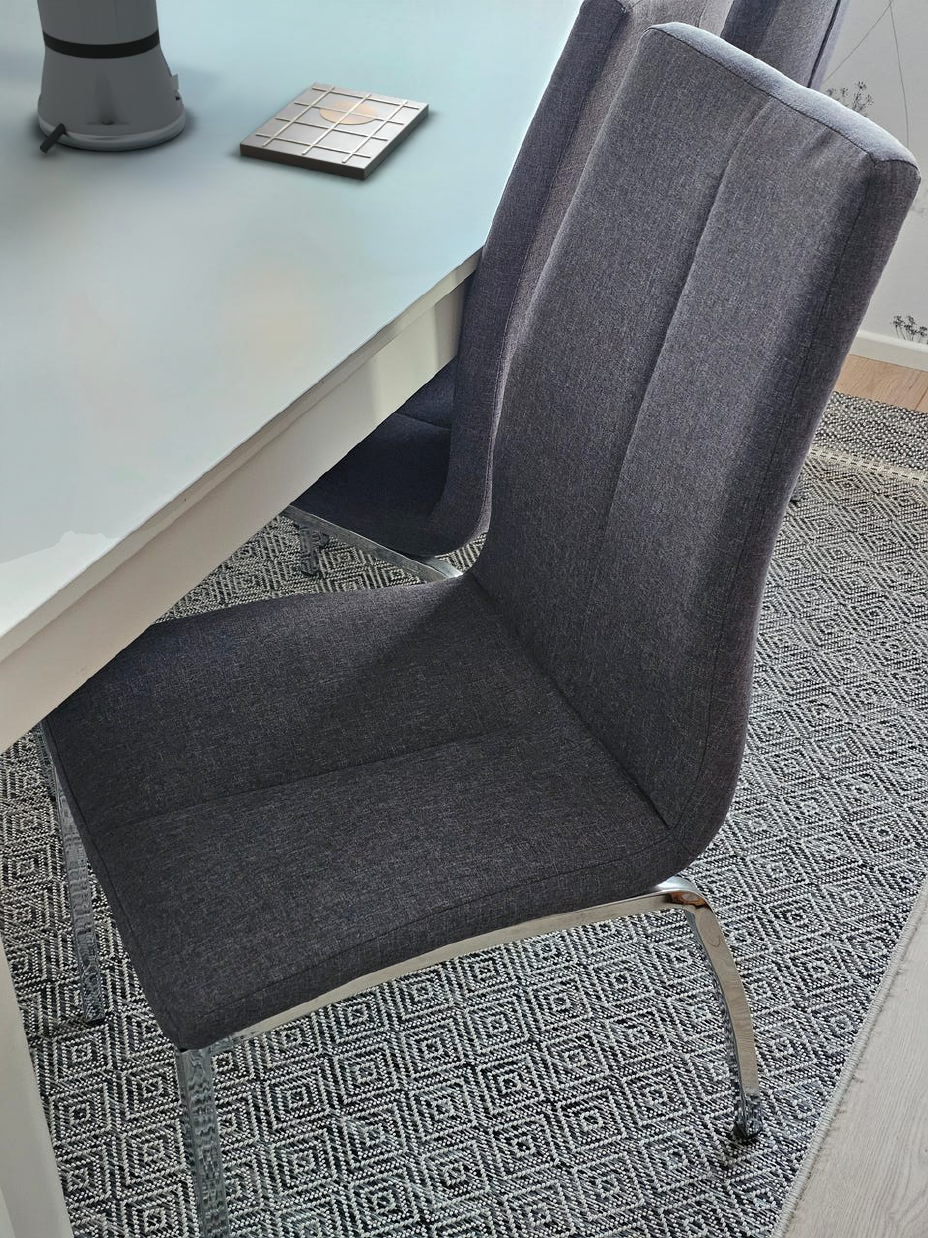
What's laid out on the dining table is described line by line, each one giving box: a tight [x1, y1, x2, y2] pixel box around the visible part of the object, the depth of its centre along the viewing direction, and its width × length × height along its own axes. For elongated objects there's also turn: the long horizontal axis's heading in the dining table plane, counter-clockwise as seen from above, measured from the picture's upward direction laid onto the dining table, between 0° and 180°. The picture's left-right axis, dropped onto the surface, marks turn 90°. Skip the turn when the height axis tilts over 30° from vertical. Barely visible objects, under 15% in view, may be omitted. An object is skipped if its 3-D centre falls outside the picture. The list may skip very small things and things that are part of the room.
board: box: [239, 82, 430, 181], centre depth 131 cm, size 20×14×1 cm
